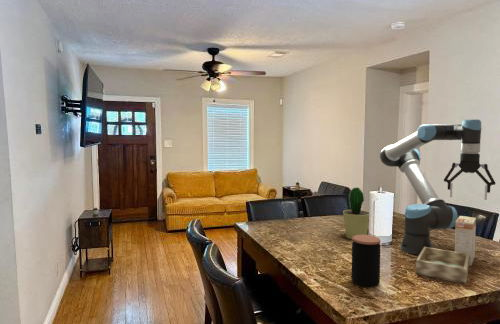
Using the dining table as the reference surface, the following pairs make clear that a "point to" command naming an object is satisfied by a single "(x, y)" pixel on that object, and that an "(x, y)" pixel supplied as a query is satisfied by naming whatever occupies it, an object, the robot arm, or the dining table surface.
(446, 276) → the crate
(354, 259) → the coffee jar
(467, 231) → the coffeecake box
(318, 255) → the dining table surface
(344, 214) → the potted cactus
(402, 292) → the dining table surface
